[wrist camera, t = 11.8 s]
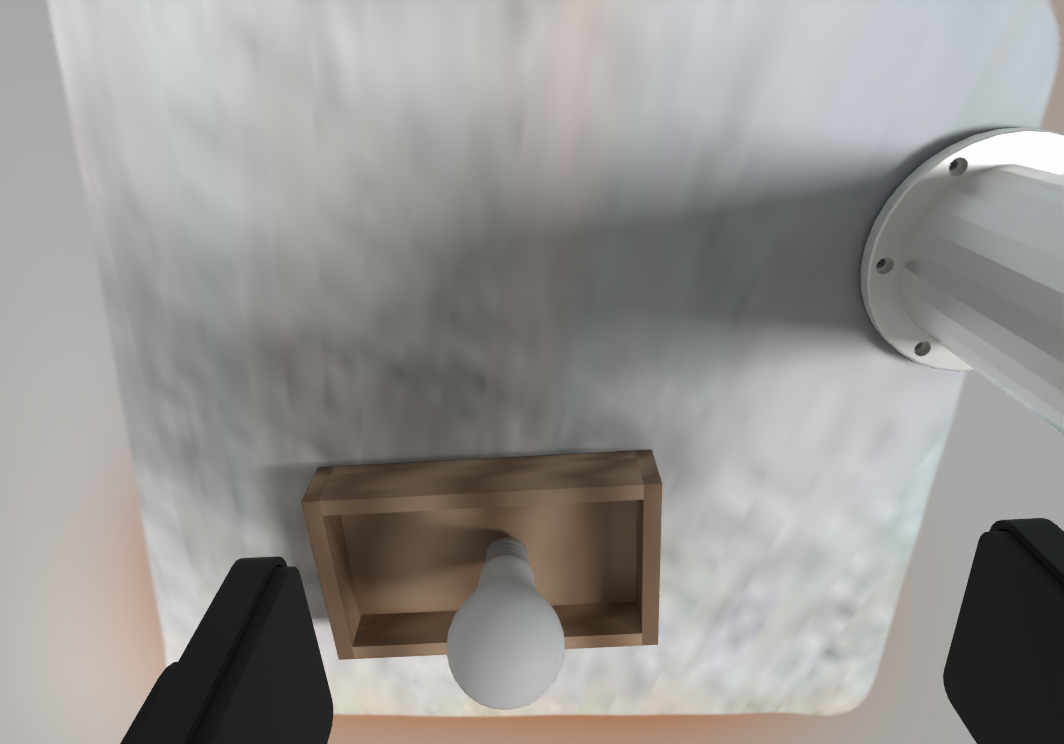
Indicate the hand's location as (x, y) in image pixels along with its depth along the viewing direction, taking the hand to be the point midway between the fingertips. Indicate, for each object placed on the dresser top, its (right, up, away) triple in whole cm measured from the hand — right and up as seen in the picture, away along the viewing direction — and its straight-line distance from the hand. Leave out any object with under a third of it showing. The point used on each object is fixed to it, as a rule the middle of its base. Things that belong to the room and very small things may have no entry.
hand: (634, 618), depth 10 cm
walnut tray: (-4, -7, +35) cm, 36 cm away
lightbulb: (-3, -7, +34) cm, 35 cm away
